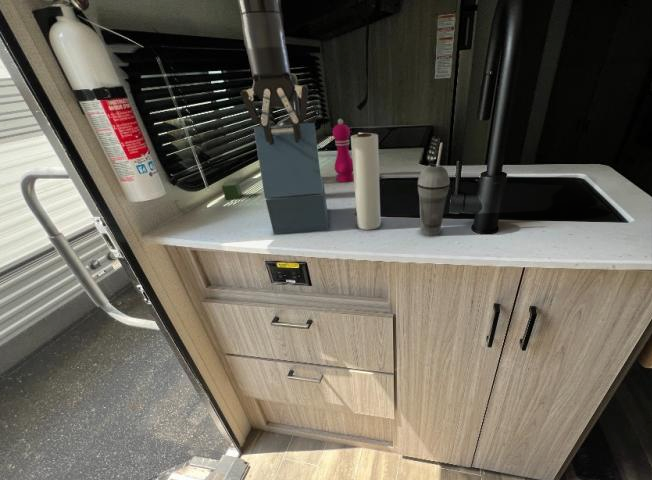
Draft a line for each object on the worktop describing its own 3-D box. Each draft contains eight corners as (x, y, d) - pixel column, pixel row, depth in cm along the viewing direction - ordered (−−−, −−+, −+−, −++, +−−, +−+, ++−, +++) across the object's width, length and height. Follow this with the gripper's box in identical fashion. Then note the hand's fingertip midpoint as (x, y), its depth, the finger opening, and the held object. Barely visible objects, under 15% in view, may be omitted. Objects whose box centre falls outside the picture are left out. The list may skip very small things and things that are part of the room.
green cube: (229, 195, 111) (224, 182, 108) (242, 194, 111) (238, 181, 108) (225, 199, 107) (221, 186, 104) (239, 198, 107) (235, 184, 105)
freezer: (280, 213, 94) (273, 182, 88) (327, 209, 94) (323, 178, 89) (273, 234, 82) (265, 200, 76) (327, 229, 82) (322, 195, 77)
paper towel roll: (376, 231, 80) (372, 137, 67) (353, 229, 82) (346, 136, 69) (384, 220, 85) (383, 131, 72) (363, 218, 87) (358, 131, 74)
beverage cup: (423, 224, 82) (428, 138, 70) (450, 229, 78) (459, 140, 66) (409, 234, 77) (412, 144, 65) (437, 241, 74) (445, 146, 62)
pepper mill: (338, 177, 122) (332, 117, 110) (356, 177, 121) (352, 117, 109) (334, 183, 116) (327, 120, 104) (353, 182, 115) (348, 119, 103)
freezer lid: (254, 128, 73) (248, 120, 68) (314, 123, 74) (312, 115, 69) (265, 198, 76) (260, 196, 72) (322, 193, 77) (321, 190, 72)
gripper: (304, 44, 64) (317, 137, 74) (232, 49, 63) (255, 142, 74) (302, 42, 58) (316, 144, 69) (223, 47, 57) (249, 149, 68)
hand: (284, 142), depth 71 cm, fingers closed on freezer lid, 5 cm apart
